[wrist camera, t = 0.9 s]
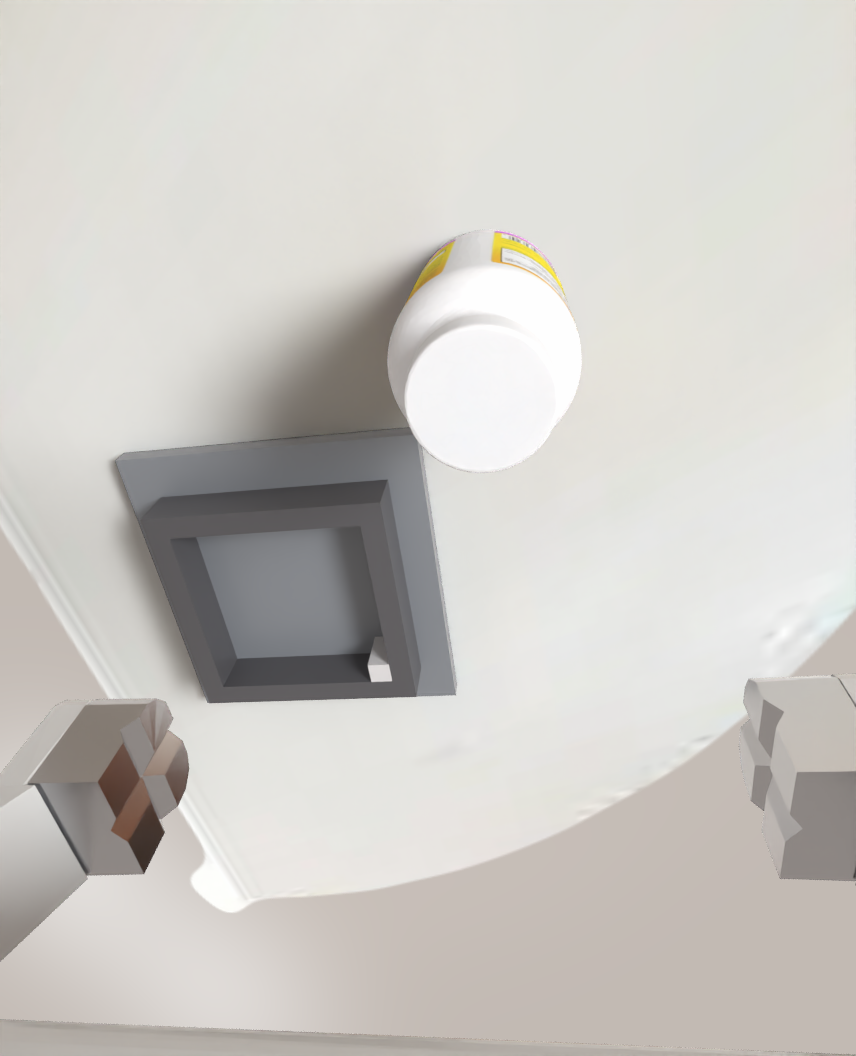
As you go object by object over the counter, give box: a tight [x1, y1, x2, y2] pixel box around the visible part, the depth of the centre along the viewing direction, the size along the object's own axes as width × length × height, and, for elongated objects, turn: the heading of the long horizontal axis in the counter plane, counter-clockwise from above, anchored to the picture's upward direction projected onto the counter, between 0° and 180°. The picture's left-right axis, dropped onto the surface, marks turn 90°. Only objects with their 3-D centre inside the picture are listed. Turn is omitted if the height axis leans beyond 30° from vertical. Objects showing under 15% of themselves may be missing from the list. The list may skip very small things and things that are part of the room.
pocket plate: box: [115, 427, 457, 703], centre depth 39 cm, size 17×16×4 cm
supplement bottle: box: [387, 229, 581, 473], centre depth 26 cm, size 7×7×13 cm
